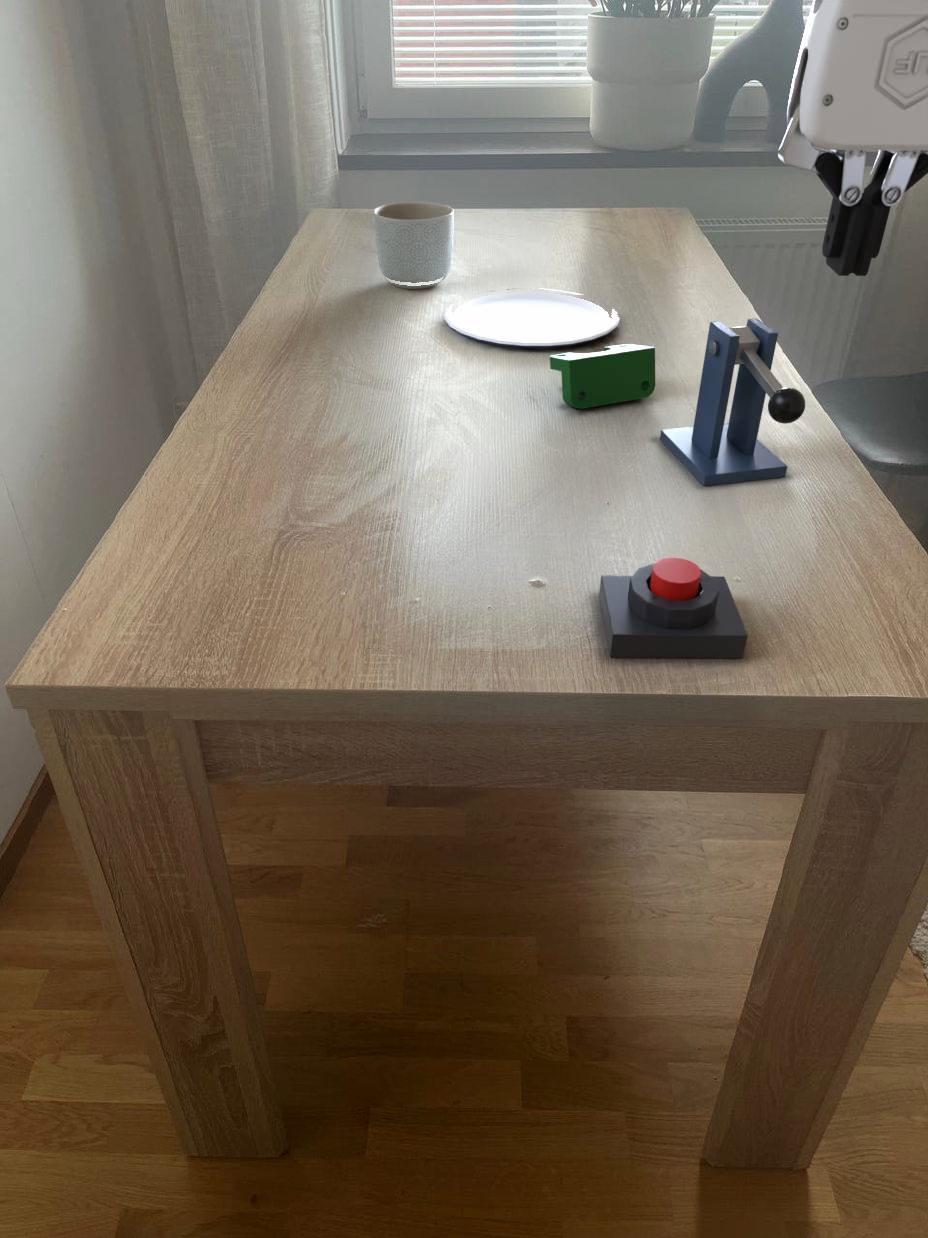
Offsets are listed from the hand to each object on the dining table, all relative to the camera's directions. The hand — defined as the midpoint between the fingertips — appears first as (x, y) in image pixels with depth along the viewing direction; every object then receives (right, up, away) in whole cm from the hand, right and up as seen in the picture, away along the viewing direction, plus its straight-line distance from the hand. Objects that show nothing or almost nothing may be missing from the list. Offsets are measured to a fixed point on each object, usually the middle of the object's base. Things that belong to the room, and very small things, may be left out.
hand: (845, 269), depth 57 cm
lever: (+4, 0, +30) cm, 30 cm away
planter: (-32, +32, +90) cm, 100 cm away
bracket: (+3, -5, +39) cm, 40 cm away
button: (-8, -20, +13) cm, 25 cm away
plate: (-14, +20, +74) cm, 78 cm away
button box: (-8, -22, +15) cm, 28 cm away
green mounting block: (-8, +5, +53) cm, 54 cm away
